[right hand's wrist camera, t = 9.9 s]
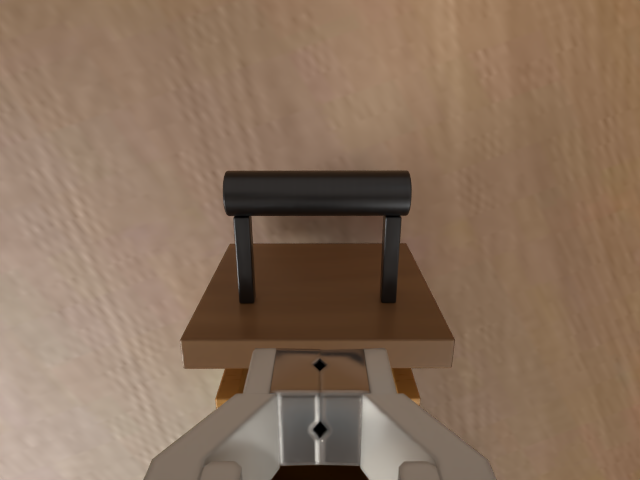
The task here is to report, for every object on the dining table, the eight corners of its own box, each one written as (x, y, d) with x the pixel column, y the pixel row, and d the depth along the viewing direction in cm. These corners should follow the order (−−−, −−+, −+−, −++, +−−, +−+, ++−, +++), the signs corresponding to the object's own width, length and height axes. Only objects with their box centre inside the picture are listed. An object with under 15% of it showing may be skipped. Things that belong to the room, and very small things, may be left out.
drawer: (222, 144, 22) (160, 190, 14) (413, 144, 22) (473, 190, 14) (250, 515, 31) (223, 687, 22) (387, 514, 31) (414, 687, 22)
